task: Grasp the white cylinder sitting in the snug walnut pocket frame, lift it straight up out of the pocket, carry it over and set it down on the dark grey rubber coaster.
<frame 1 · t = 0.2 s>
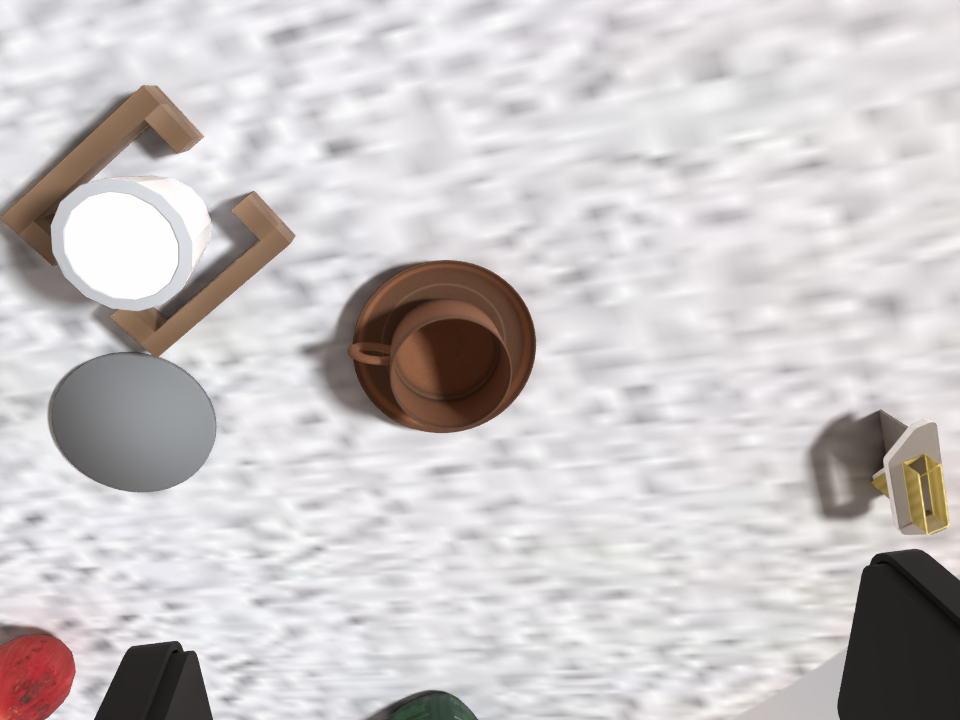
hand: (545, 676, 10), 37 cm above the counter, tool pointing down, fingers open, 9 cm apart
white cylinder: (164, 222, 42), on the counter
coaster: (137, 422, 46), on the counter
onion: (51, 639, 51), on the counter
pocket: (162, 223, 42), on the counter
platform: (871, 451, 55), on the counter
cup and saucer: (443, 340, 47), on the counter
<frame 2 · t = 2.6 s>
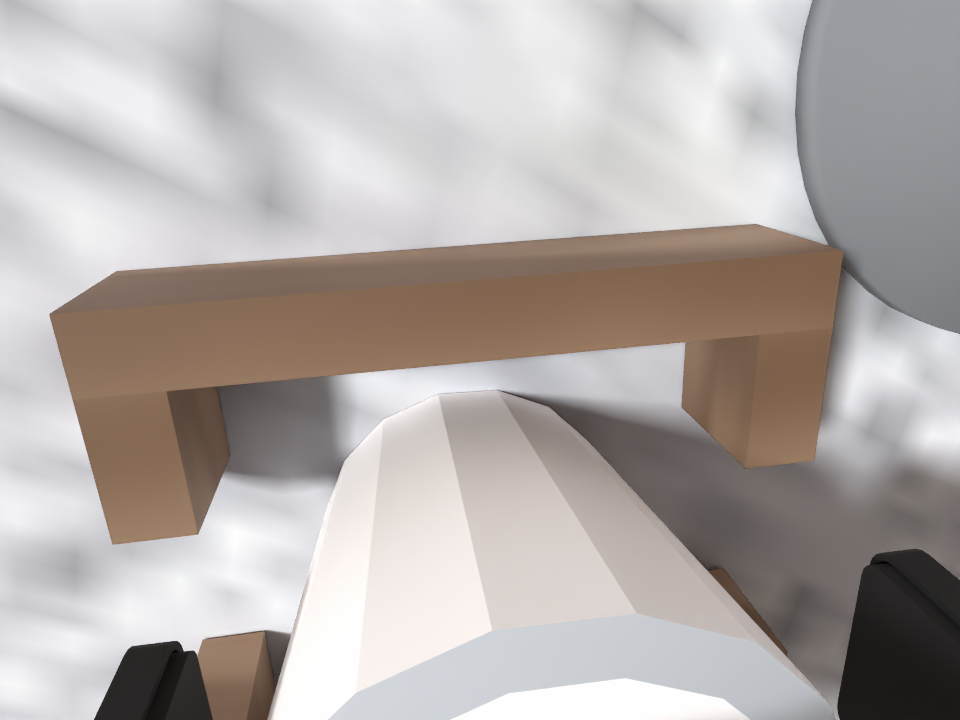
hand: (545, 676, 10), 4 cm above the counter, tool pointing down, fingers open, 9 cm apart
white cylinder: (468, 514, 14), on the counter
pocket: (470, 520, 14), on the counter
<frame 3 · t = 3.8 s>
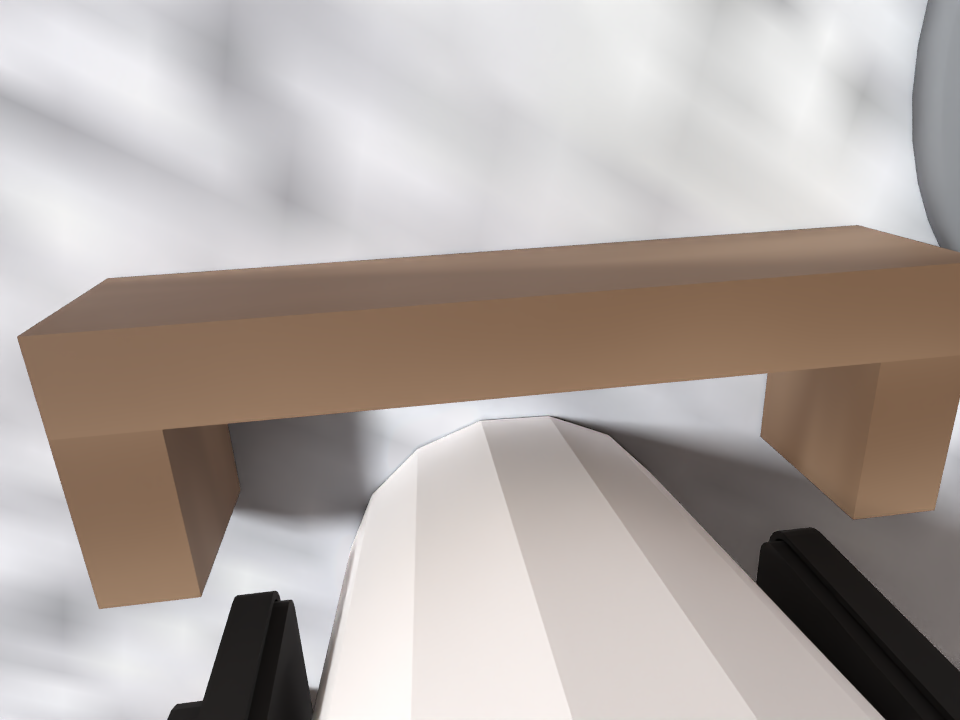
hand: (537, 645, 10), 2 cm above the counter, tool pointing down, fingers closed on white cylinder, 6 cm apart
white cylinder: (512, 554, 12), on the counter, touching gripper
pocket: (514, 563, 12), on the counter
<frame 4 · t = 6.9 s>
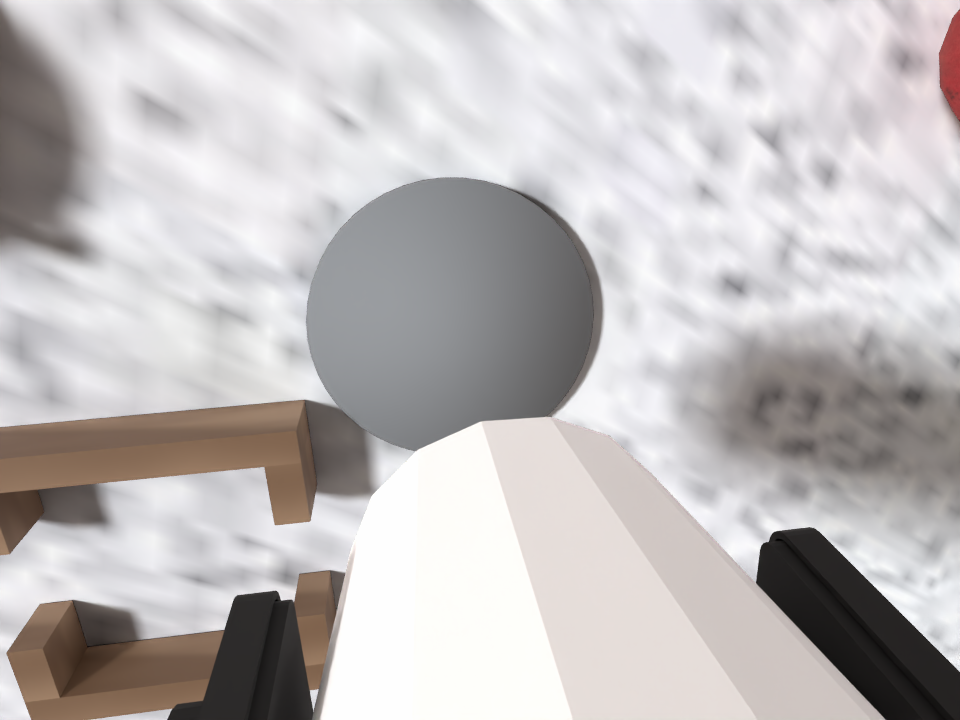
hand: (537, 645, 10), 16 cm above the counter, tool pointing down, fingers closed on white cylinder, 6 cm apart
white cylinder: (512, 555, 12), point 13 cm above the counter, touching gripper
coaster: (452, 321, 25), on the counter
onion: (958, 56, 24), on the counter
pocket: (177, 544, 26), on the counter
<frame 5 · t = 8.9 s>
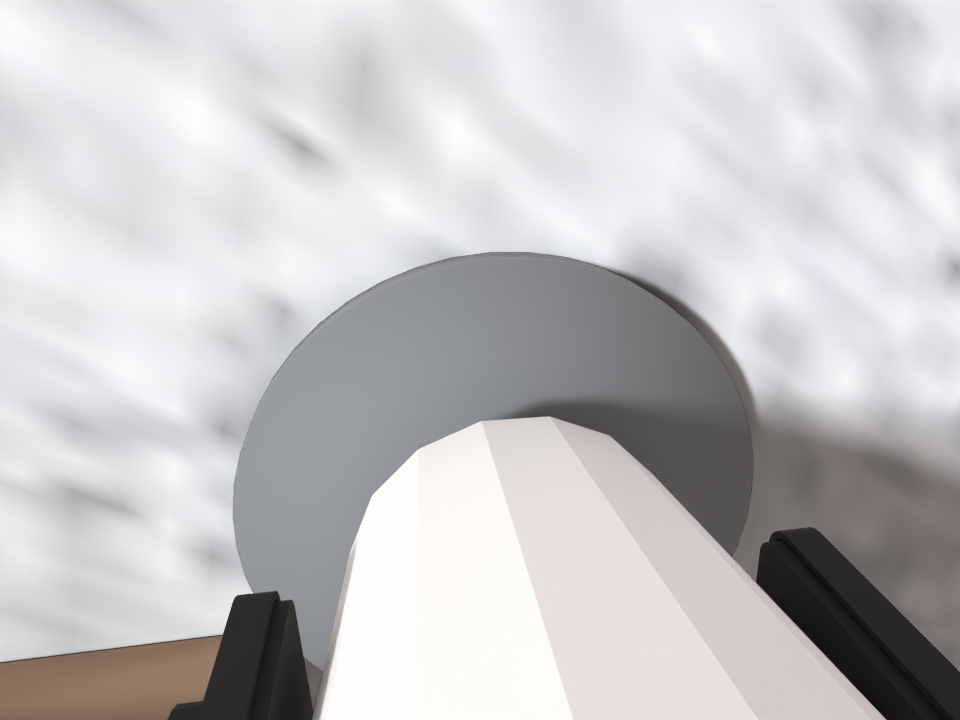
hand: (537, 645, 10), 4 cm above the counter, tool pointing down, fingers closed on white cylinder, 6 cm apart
white cylinder: (512, 555, 12), point 2 cm above the counter, touching gripper
coaster: (499, 499, 14), on the counter
when the fingers open (3 cm above the counter, at t = 10.1 s): white cylinder stays where it is, resting on coaster.
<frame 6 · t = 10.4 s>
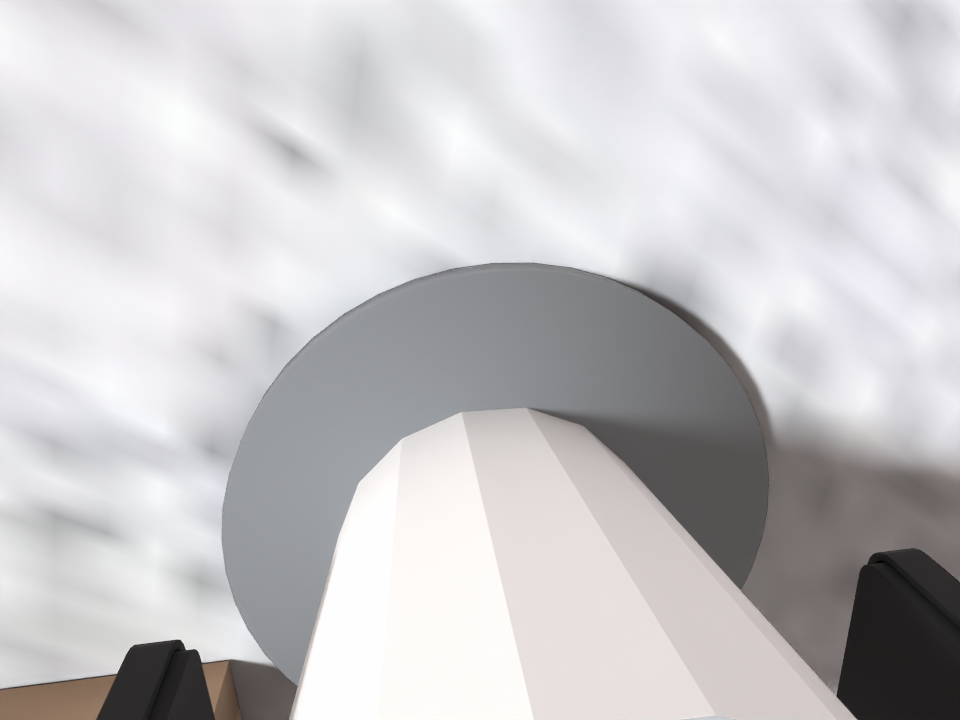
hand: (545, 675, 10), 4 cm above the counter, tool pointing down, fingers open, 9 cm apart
white cylinder: (493, 540, 13), resting on coaster
coaster: (502, 520, 13), on the counter
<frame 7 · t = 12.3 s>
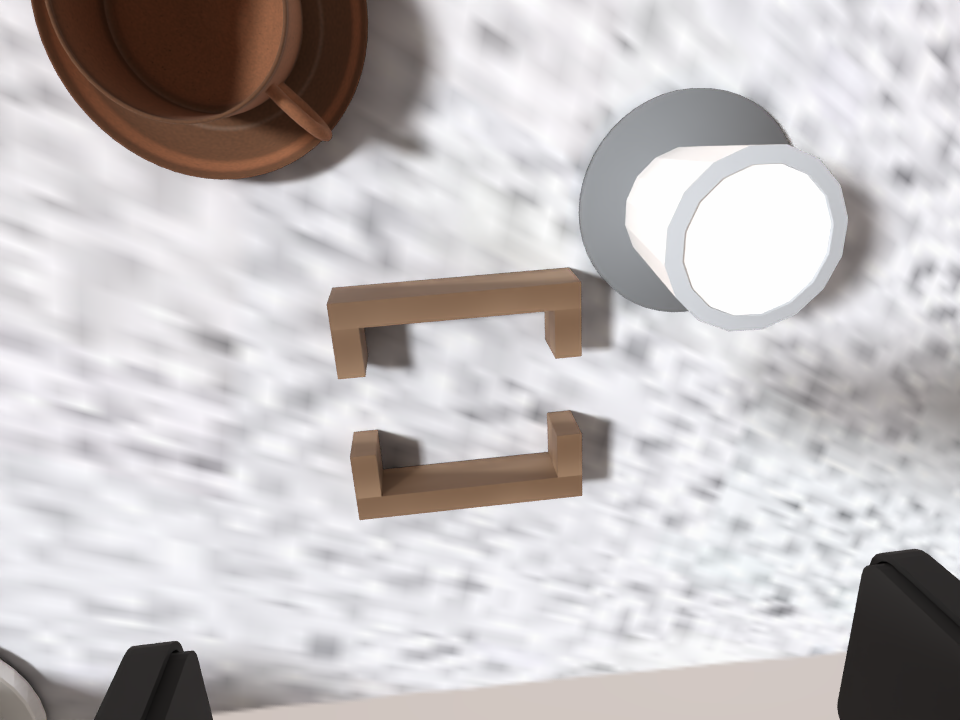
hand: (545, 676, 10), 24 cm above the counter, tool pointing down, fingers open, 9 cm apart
white cylinder: (683, 209, 31), resting on coaster
coaster: (685, 204, 32), on the counter
pocket: (460, 385, 34), on the counter
cup and saucer: (218, 18, 27), on the counter
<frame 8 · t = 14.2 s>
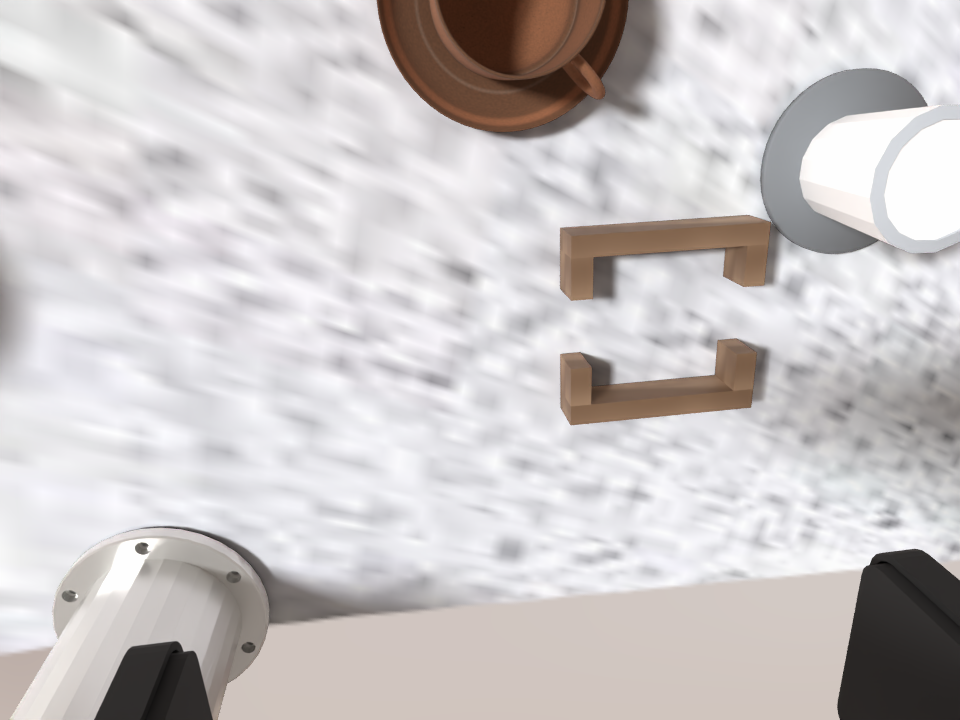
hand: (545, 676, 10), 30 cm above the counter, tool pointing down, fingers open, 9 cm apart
white cylinder: (844, 167, 39), resting on coaster
coaster: (844, 164, 39), on the counter
pocket: (651, 314, 41), on the counter
cup and saucer: (498, 3, 34), on the counter
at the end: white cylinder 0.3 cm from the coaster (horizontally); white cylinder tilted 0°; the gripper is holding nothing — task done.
